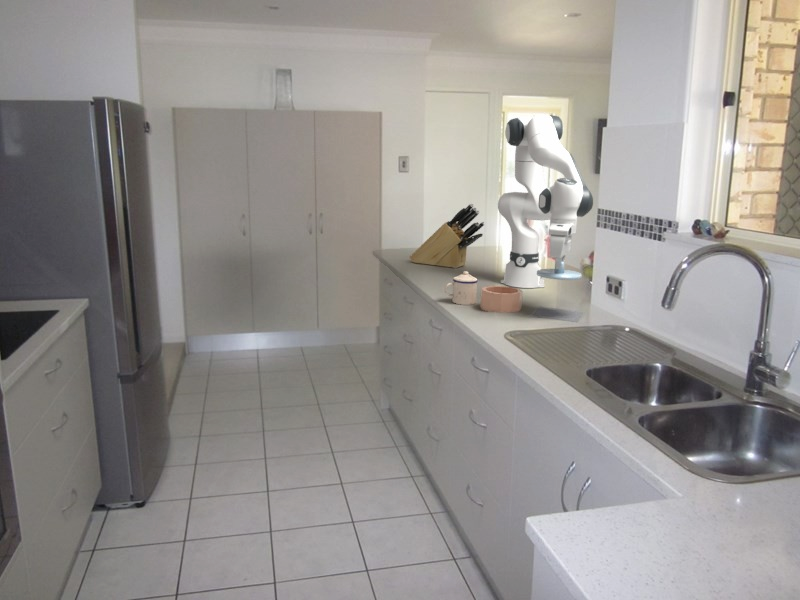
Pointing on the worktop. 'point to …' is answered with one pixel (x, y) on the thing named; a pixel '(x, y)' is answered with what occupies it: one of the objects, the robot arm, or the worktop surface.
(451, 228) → the knife block
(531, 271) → the robot arm
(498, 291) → the bowl
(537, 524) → the worktop surface
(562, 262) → the lid
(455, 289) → the teacup with lid
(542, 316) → the mat
